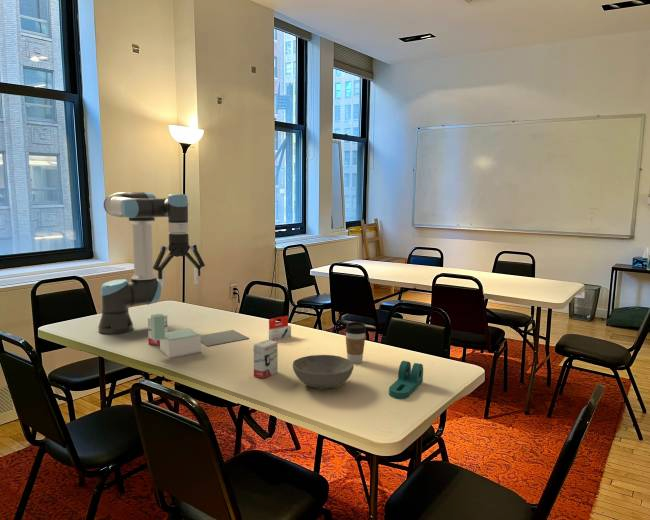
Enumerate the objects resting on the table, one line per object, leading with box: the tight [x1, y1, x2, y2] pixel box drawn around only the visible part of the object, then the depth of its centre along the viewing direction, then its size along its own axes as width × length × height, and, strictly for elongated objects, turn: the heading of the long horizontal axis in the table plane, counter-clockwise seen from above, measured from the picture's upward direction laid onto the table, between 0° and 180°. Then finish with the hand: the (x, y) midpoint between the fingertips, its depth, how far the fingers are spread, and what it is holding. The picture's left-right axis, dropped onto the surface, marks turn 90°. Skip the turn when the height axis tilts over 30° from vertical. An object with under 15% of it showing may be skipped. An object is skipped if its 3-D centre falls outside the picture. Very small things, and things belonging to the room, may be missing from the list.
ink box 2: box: [253, 339, 279, 380], centre depth 180 cm, size 9×5×12 cm, turn 148°
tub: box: [159, 336, 202, 359], centre depth 204 cm, size 11×13×7 cm
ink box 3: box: [268, 315, 292, 342], centre depth 225 cm, size 2×11×10 cm, turn 131°
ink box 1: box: [147, 313, 169, 346], centre depth 216 cm, size 9×5×12 cm, turn 168°
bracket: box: [388, 360, 424, 400], centre depth 169 cm, size 18×7×8 cm, turn 151°
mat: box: [200, 329, 250, 347], centre depth 224 cm, size 16×20×1 cm
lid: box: [150, 313, 201, 341], centre depth 201 cm, size 11×17×10 cm, turn 127°
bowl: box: [292, 354, 355, 390], centre depth 171 cm, size 21×21×8 cm
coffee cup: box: [344, 321, 367, 365], centre depth 195 cm, size 8×8×15 cm
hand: (179, 285), depth 200 cm, fingers open, 13 cm apart
